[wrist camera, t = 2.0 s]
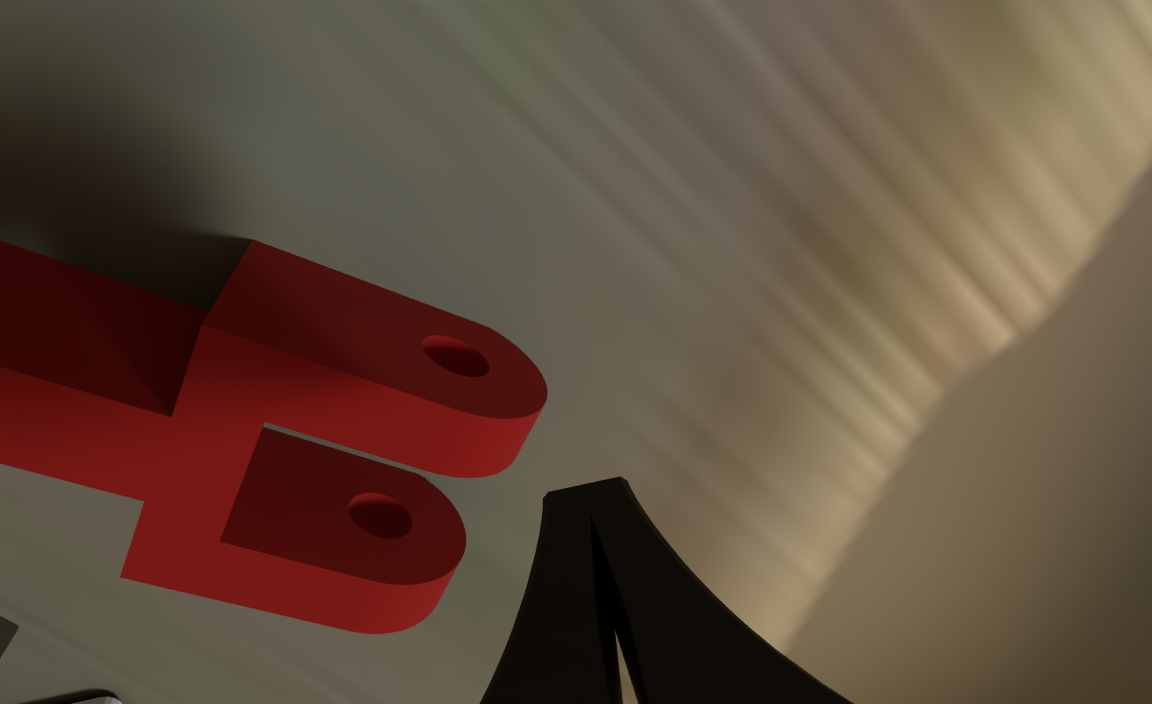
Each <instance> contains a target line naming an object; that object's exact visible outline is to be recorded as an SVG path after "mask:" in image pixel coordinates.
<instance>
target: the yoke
mask: <svg viewBox="0 0 1152 704" xmlns="http://www.w3.org/2000/svg"><path fill="white" fill-rule="evenodd" d="M18 628H19V627H18V626H16V625H14V624H12V623H10V622H8V621H6V620H5V619H3V618H1V617H0V658H1V656H2V654H3V653H4V651H5V650H6V648H7V646H8V645H9V643H10V641H11V640H12V638H13V636H14V635H15V633H16V631H17V630H18Z"/></svg>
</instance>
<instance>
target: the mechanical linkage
mask: <svg viewBox="0 0 1152 704" xmlns="http://www.w3.org/2000/svg"><path fill="white" fill-rule="evenodd" d="M546 400H547V386H546V383H545V380H544V378H543V376H542V374H541V373H540V371H539V370H538V368H537V367H536V365H535V364H534V363H533V362H532V361H531V360H530V358H529V357H528V356H527V355H526V354H525V353H524V352H522V351H521V350H520V349H519V348H518V347H517V346H516V345H514V344H513V343H512V342H510V341H509V340H508V339H506V338H505V337H503V336H502V335H500V334H499V333H497V332H496V331H494V330H492V329H491V328H489V327H486V326H484V325H481V324H478V323H476V322H473V321H470V320H468V319H465V318H462V317H460V316H457V315H454V314H452V313H449V312H446V311H444V310H441V309H438V308H435V307H433V306H430V305H427V304H425V303H422V302H419V301H417V300H414V299H411V298H409V297H406V296H403V295H401V294H398V293H395V292H393V291H390V290H387V289H385V288H382V287H379V286H376V285H374V284H371V283H368V282H366V281H363V280H360V279H358V278H355V277H352V276H350V275H347V274H344V273H342V272H339V271H336V270H334V269H331V268H328V267H325V266H323V265H320V264H317V263H315V262H312V261H309V260H307V259H304V258H301V257H299V256H296V255H293V254H291V253H288V252H285V251H283V250H280V249H277V248H274V247H272V246H269V245H266V244H264V243H261V242H258V241H256V240H252V242H251V243H250V245H249V247H248V248H247V250H246V252H245V253H244V255H243V257H242V258H241V260H240V262H239V263H238V265H237V267H236V268H235V270H234V272H233V273H232V275H231V276H230V278H229V280H228V281H227V283H226V285H225V286H224V288H223V290H222V291H221V293H220V295H219V296H218V298H217V300H216V301H215V303H214V305H213V306H212V308H211V309H210V311H209V312H208V311H205V310H202V309H199V308H196V307H193V306H190V305H187V304H184V303H182V302H179V301H176V300H173V299H170V298H167V297H164V296H161V295H158V294H155V293H152V292H149V291H146V290H143V289H140V288H137V287H134V286H132V285H129V284H126V283H123V282H120V281H117V280H114V279H111V278H108V277H105V276H102V275H99V274H96V273H93V272H90V271H87V270H84V269H81V268H79V267H76V266H73V265H70V264H67V263H64V262H61V261H58V260H55V259H52V258H49V257H46V256H43V255H40V254H37V253H34V252H31V251H28V250H26V249H23V248H20V247H17V246H14V245H11V244H8V243H5V242H2V241H0V464H4V465H8V466H12V467H16V468H19V469H23V470H27V471H31V472H35V473H38V474H42V475H46V476H50V477H54V478H57V479H61V480H65V481H69V482H73V483H76V484H80V485H84V486H88V487H92V488H95V489H99V490H103V491H107V492H111V493H114V494H118V495H122V496H126V497H130V498H133V499H137V500H141V501H144V504H143V507H142V510H141V514H140V517H139V520H138V523H137V526H136V529H135V532H134V535H133V538H132V542H131V545H130V548H129V551H128V554H127V557H126V560H125V563H124V566H123V569H122V573H121V576H120V577H121V578H125V579H129V580H134V581H138V582H142V583H146V584H151V585H155V586H159V587H164V588H168V589H172V590H176V591H181V592H185V593H189V594H193V595H198V596H202V597H206V598H211V599H215V600H219V601H223V602H228V603H232V604H236V605H241V606H245V607H249V608H253V609H258V610H262V611H266V612H271V613H275V614H279V615H283V616H288V617H292V618H296V619H301V620H305V621H309V622H313V623H318V624H322V625H326V626H331V627H335V628H339V629H343V630H348V631H353V632H358V633H367V634H384V633H392V632H397V631H401V630H404V629H407V628H410V627H412V626H414V625H416V624H418V623H419V622H421V621H422V620H424V619H425V618H426V617H427V616H428V615H429V614H430V613H431V612H432V611H433V610H434V608H435V607H436V605H437V603H438V601H439V600H440V598H441V596H442V594H443V592H444V590H445V588H446V587H447V585H448V583H449V581H450V579H451V577H452V575H453V574H454V572H455V570H456V568H457V566H458V564H459V562H460V560H461V559H462V557H463V554H464V551H465V547H466V533H465V528H464V525H463V522H462V520H461V517H460V515H459V514H458V512H457V510H456V509H455V507H454V506H453V504H452V503H451V502H450V501H449V499H448V498H447V497H446V496H445V495H444V494H443V493H442V492H441V491H440V490H439V489H438V488H436V487H435V486H434V485H433V484H431V483H430V482H429V481H427V480H426V479H424V478H423V477H421V476H420V475H418V474H416V473H413V472H410V471H406V470H403V469H400V468H397V467H393V466H390V465H387V464H383V463H380V462H377V461H373V460H370V459H367V458H364V457H360V456H357V455H354V454H350V453H347V452H344V451H340V450H337V449H334V448H331V447H327V446H324V445H321V444H317V443H314V442H311V441H307V440H304V439H301V438H298V437H294V436H291V435H288V434H284V433H281V432H278V431H274V430H271V429H268V428H265V427H263V425H264V422H268V423H271V424H275V425H278V426H281V427H284V428H288V429H291V430H294V431H297V432H301V433H304V434H307V435H311V436H314V437H317V438H320V439H324V440H327V441H330V442H333V443H337V444H340V445H343V446H347V447H350V448H353V449H356V450H360V451H363V452H366V453H370V454H373V455H376V456H379V457H383V458H386V459H389V460H392V461H396V462H399V463H402V464H406V465H409V466H412V467H415V468H419V469H422V470H425V471H429V472H432V473H436V474H441V475H446V476H452V477H461V478H478V477H485V476H490V475H494V474H496V473H499V472H501V471H503V470H505V469H506V468H508V467H509V466H510V465H511V464H512V463H513V461H514V460H515V458H516V456H517V454H518V453H519V451H520V449H521V447H522V445H523V443H524V441H525V440H526V438H527V436H528V434H529V432H530V430H531V428H532V427H533V425H534V423H535V421H536V419H537V417H538V415H539V414H540V412H541V410H542V408H543V406H544V404H545V402H546Z"/></svg>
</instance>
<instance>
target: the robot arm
mask: <svg viewBox="0 0 1152 704" xmlns="http://www.w3.org/2000/svg"><path fill="white" fill-rule="evenodd" d="M615 631H616V634H617V638H618V641H619V644H620V647H621V650H622V653H623V657H624V660H625V663H626V666H627V669H628V672H629V676H630V679H631V682H632V685H633V688H634V691H635V695H636V698H637V701H638V704H854V703H852V702H850V701H849V700H847V699H846V698H844V697H843V696H841V695H840V694H838V693H837V692H835V691H833V690H832V689H830V688H829V687H827V686H826V685H824V684H823V683H821V682H820V681H819V680H817V679H816V678H814V677H813V676H812V675H810V674H809V673H807V672H806V671H805V670H803V669H802V668H800V667H799V666H798V665H796V664H795V663H794V662H792V661H791V660H789V659H788V658H787V657H786V656H784V655H783V654H781V653H780V652H779V651H777V650H776V649H775V648H774V647H772V646H771V645H770V644H769V643H767V642H766V641H765V640H764V639H763V638H761V637H760V636H759V635H758V634H757V633H755V632H754V631H753V630H752V629H751V628H749V627H748V626H747V625H746V624H745V623H744V622H743V621H742V620H741V619H739V618H738V617H737V616H736V615H735V614H734V613H733V612H732V611H731V610H730V609H728V608H727V607H726V606H725V605H724V604H723V603H722V602H721V601H720V600H719V599H718V598H717V597H716V596H715V595H714V594H713V593H712V592H711V591H710V590H709V589H708V588H707V587H706V586H705V585H704V583H703V582H702V581H701V580H700V579H699V578H698V577H697V576H696V575H695V574H694V573H693V572H692V571H691V570H690V568H689V567H688V566H687V565H686V564H685V563H684V562H683V560H682V559H681V558H680V557H679V556H678V554H677V553H676V552H675V551H674V550H673V548H672V547H671V546H670V545H669V543H668V542H667V541H666V540H665V539H664V537H663V536H662V535H661V533H660V532H659V531H658V530H657V528H656V527H655V525H654V524H653V523H652V521H651V520H650V518H649V517H648V516H647V514H646V513H645V511H644V510H643V508H642V507H641V505H640V503H639V502H638V500H637V499H636V497H635V495H634V493H633V491H632V490H631V488H630V485H629V483H628V481H627V480H625V479H624V478H622V477H615V478H611V479H606V480H601V481H597V482H592V483H588V484H583V485H578V486H574V487H569V488H564V489H560V490H555V491H551V492H548V493H547V494H546V496H545V497H544V498H543V511H542V520H541V527H540V533H539V538H538V543H537V548H536V553H535V557H534V561H533V564H532V568H531V572H530V576H529V580H528V583H527V587H526V590H525V594H524V597H523V600H522V603H521V606H520V608H519V611H518V614H517V617H516V620H515V623H514V626H513V629H512V632H511V634H510V637H509V640H508V642H507V645H506V647H505V650H504V652H503V655H502V657H501V659H500V662H499V664H498V666H497V668H496V671H495V673H494V675H493V677H492V680H491V682H490V684H489V686H488V688H487V690H486V692H485V694H484V696H483V698H482V700H481V702H480V704H623V698H622V689H621V680H620V671H619V662H618V653H617V644H616V635H615ZM72 704H122V703H121V702H120V701H119V700H118V699H115V698H113V697H100V698H95V699H90V700H86V701H81V702H77V703H72Z"/></svg>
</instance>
